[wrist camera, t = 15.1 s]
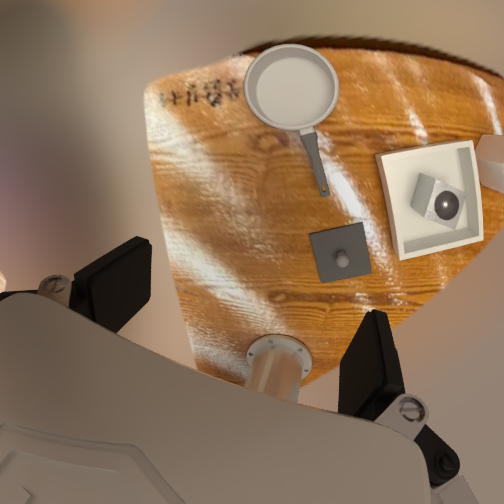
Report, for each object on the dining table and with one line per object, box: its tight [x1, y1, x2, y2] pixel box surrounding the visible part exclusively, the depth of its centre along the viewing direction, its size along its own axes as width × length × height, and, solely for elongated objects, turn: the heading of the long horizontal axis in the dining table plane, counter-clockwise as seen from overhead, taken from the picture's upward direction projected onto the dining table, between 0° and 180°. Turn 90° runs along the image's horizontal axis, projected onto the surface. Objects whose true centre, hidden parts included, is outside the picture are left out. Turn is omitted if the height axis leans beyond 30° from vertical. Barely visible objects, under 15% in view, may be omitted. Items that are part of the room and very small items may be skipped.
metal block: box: [410, 173, 467, 230], centre depth 30 cm, size 5×5×7 cm
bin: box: [375, 140, 483, 260], centre depth 32 cm, size 14×14×4 cm
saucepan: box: [244, 44, 339, 197], centre depth 32 cm, size 12×20×6 cm, turn 19°
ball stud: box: [309, 222, 372, 283], centre depth 39 cm, size 8×8×4 cm
